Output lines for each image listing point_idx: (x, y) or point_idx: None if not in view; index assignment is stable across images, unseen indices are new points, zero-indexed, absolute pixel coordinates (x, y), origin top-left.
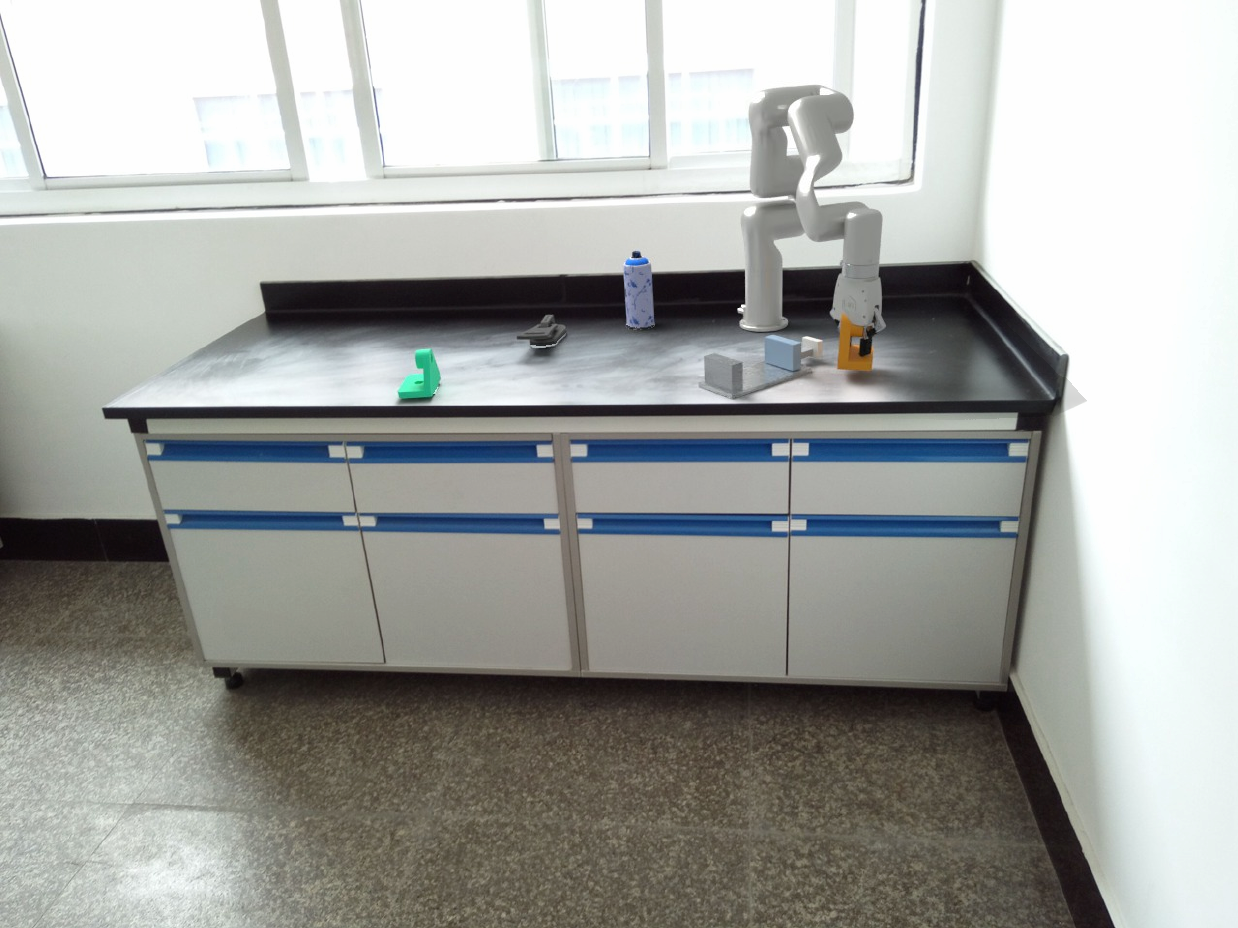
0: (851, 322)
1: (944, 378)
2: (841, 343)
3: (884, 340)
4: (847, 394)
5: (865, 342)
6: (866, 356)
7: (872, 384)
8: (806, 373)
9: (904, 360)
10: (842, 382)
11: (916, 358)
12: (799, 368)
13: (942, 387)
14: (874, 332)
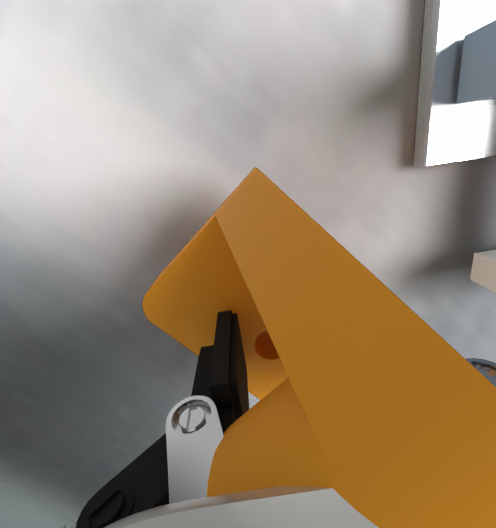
0: (341, 508)
1: (80, 453)
2: (294, 231)
3: None
4: (90, 93)
5: (208, 387)
6: None
7: (146, 263)
8: (416, 128)
9: None
10: (233, 184)
11: None
12: (460, 92)
13: (7, 411)
14: (85, 507)
